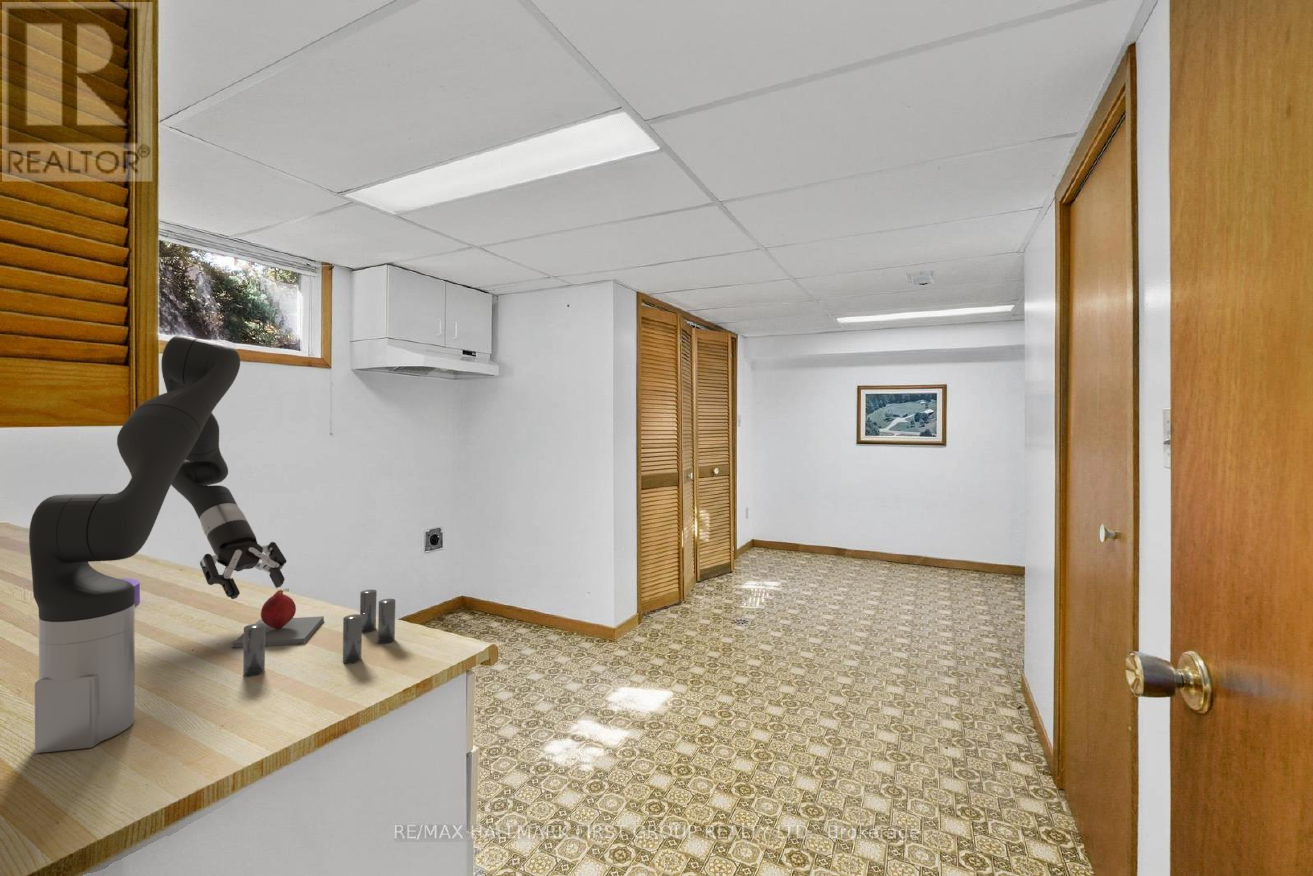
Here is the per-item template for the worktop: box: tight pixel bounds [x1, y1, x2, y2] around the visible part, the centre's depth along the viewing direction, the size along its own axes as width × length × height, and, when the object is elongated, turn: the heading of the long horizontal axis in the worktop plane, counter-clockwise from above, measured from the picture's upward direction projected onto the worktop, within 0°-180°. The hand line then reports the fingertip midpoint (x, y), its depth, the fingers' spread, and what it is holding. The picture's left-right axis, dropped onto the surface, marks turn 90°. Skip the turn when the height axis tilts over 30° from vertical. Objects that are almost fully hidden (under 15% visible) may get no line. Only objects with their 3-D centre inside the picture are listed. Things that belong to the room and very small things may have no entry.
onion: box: [260, 589, 297, 629], centre depth 111 cm, size 6×6×8 cm
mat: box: [231, 615, 325, 648], centre depth 111 cm, size 12×12×1 cm
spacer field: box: [242, 589, 396, 677], centre depth 106 cm, size 20×22×8 cm
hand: (259, 590), depth 115 cm, fingers open, 8 cm apart
